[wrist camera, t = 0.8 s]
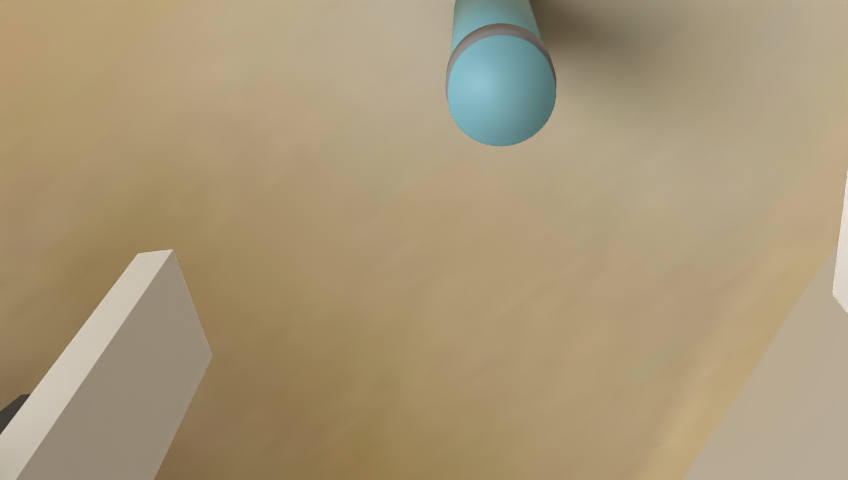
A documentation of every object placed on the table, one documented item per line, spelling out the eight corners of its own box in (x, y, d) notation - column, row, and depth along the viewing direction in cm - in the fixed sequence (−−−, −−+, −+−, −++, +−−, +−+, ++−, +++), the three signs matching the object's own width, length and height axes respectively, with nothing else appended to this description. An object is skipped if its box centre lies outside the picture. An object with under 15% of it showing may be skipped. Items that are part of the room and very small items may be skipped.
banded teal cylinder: (528, -36, 34) (554, 30, 24) (536, 45, 36) (563, 140, 26) (446, -23, 35) (436, 48, 24) (458, 57, 36) (453, 155, 26)
